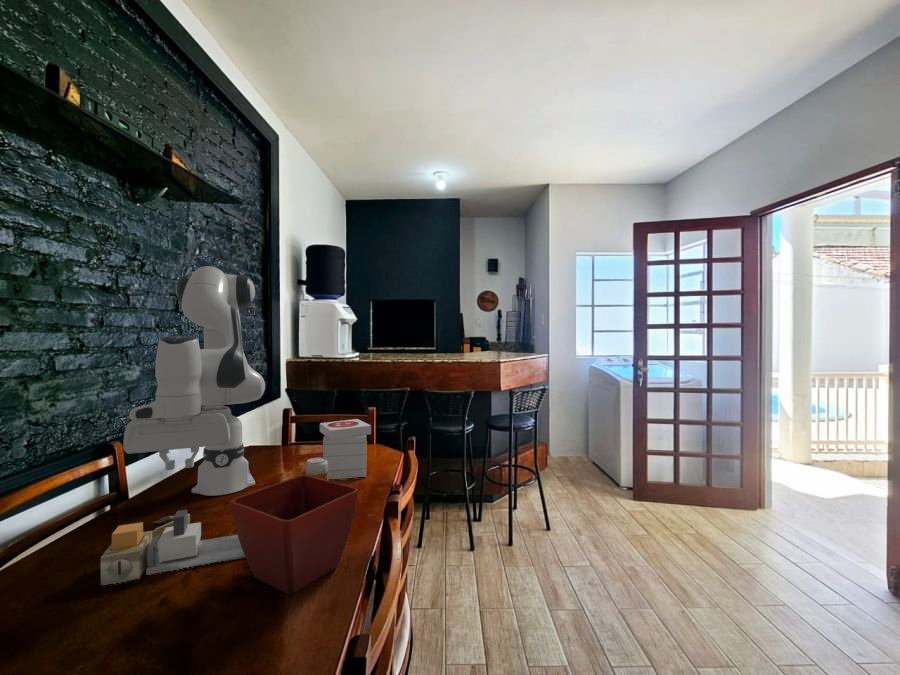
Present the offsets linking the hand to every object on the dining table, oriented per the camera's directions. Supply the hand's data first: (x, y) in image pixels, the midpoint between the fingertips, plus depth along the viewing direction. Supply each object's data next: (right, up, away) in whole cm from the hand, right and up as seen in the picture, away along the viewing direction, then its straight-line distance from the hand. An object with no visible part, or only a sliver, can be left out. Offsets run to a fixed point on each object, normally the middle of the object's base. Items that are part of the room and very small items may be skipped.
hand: (179, 468), depth 95 cm
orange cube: (-9, -15, -4) cm, 18 cm away
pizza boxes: (+21, -21, +67) cm, 73 cm away
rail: (+7, -21, +3) cm, 22 cm away
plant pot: (+28, -21, -5) cm, 35 cm away
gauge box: (-9, -21, -4) cm, 23 cm away
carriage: (0, -19, 0) cm, 19 cm away
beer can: (+23, -21, +27) cm, 41 cm away
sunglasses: (-15, -22, +13) cm, 29 cm away
